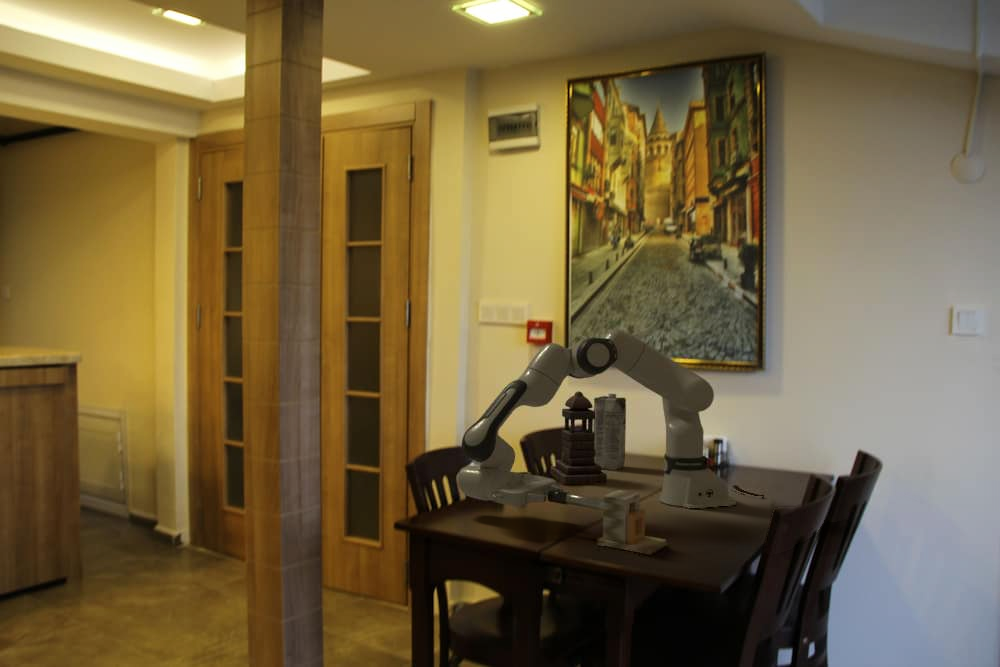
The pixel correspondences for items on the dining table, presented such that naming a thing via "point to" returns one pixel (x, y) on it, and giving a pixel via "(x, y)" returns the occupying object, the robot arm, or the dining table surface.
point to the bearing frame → (624, 523)
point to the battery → (610, 431)
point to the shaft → (575, 500)
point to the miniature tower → (578, 446)
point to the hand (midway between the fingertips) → (554, 495)
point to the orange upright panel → (639, 520)
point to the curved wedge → (744, 491)
